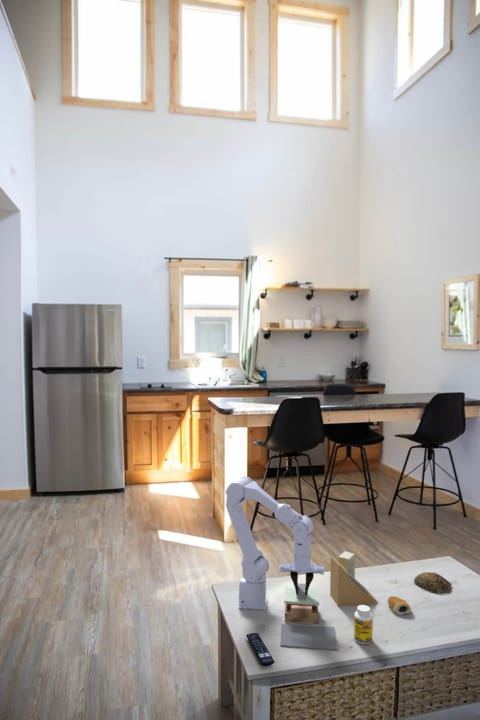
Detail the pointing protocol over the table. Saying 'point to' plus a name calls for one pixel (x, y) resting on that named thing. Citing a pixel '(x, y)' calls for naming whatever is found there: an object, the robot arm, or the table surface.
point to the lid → (301, 596)
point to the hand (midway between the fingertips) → (301, 593)
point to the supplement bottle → (363, 625)
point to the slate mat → (308, 637)
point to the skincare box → (348, 562)
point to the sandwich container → (347, 587)
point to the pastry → (398, 605)
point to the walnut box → (301, 613)
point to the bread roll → (432, 582)
